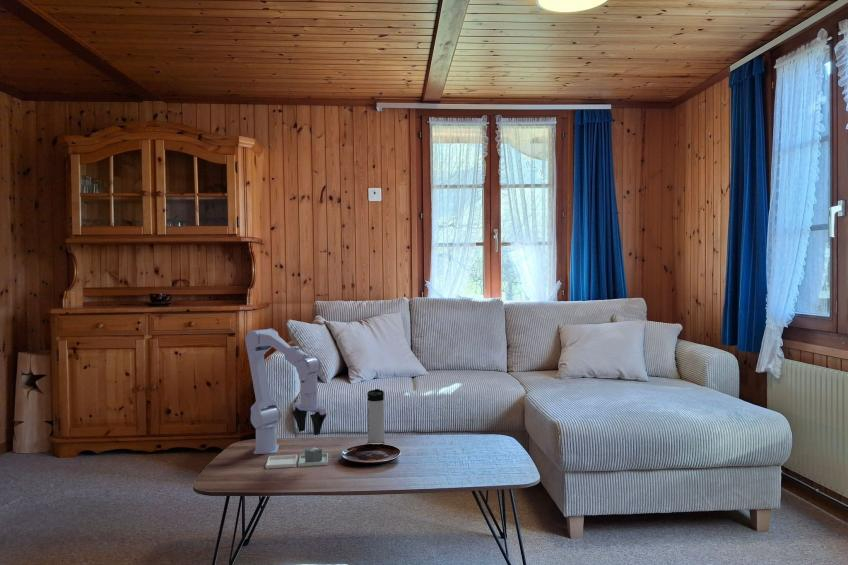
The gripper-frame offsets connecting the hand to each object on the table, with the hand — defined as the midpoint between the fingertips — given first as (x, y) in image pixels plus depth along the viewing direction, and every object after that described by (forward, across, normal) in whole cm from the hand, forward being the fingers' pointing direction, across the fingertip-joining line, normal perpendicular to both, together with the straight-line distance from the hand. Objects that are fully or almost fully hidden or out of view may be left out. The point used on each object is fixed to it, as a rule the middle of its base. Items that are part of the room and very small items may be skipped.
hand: (309, 432), depth 190 cm
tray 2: (+10, +1, +1) cm, 10 cm away
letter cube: (+10, +1, +1) cm, 10 cm away
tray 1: (+10, -6, -6) cm, 14 cm away
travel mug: (+10, +4, +29) cm, 31 cm away
